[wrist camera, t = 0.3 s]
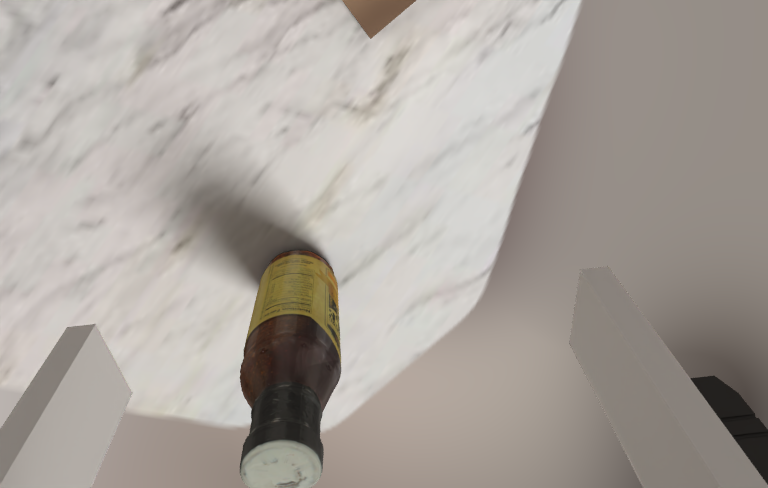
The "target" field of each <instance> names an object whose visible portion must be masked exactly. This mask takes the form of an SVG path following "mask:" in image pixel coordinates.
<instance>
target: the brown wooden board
mask: <svg viewBox="0 0 768 488" xmlns="http://www.w3.org/2000/svg"><path fill="white" fill-rule="evenodd" d="M342 1H343V2H344V3H345V5H346V6H347V7H348V9H349V10H350V12H351V13H352V14H353V16H354V17H355V18H356V20H357V21H358V22H359V24H360V25H361V26H362V28H363V29H364V31H365V32H366V33H367V35H368V36H369V37H370V39H371V38H372V37H373V36H375V35H376V34H377V33H378V32H379V31H381V30H382V29H383V28H384V27H385V26H386V25H388V24H389V23H390V22H391V21H392V20H394V19H395V18H396V17H397V16H398V15H399V14H401V13H402V12H403V11H404V10H405V9H407V8H408V7H409V6H410V5H411V4H412V3H414V2H415V1H416V0H342Z"/></svg>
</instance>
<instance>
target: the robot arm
mask: <svg viewBox="0 0 768 488" xmlns="http://www.w3.org/2000/svg"><path fill="white" fill-rule="evenodd" d="M569 344H570V346H571V348H572V350H573V352H574V353H575V356H576V358H577V360H578V361H579V364H580V365H581V367H582V369H583V371H584V373H585V375H586V377H587V379H588V381H589V383H590V385H591V387H592V389H593V391H594V393H595V395H596V397H597V399H598V401H599V403H600V404H601V406H602V408H603V410H604V412H605V414H606V416H607V418H608V420H609V422H610V424H611V426H612V428H613V430H614V432H615V434H616V436H617V438H618V439H619V442H620V444H621V445H622V447H623V449H624V451H625V453H626V455H627V457H628V459H629V461H630V463H631V465H632V467H633V469H634V471H635V473H636V475H637V477H638V479H639V481H640V483H641V485H642V486H643V488H768V429H767V428H766V427H765V426H764V424H763V423H762V422H761V421H760V419H759V418H756V417H755V413H754V412H753V411H752V410H751V408H750V407H749V406H748V405H747V403H746V402H745V401H744V400H743V399H742V397H741V396H740V395H739V393H737V392H736V391H735V390H733V389H732V388H731V387H729V386H728V385H726V384H725V383H724V382H722V381H721V380H719V379H718V378H717V377H715V376H708V377H700V378H689V376H688V375H687V374H686V372H685V371H684V369H683V368H682V367H681V366H680V364H679V363H678V361H677V360H676V359H675V357H674V356H673V355H672V353H671V352H670V350H669V349H668V348H667V346H666V345H665V343H664V342H663V341H662V339H661V338H660V337H659V335H658V334H657V333H656V331H655V330H654V328H653V327H652V326H651V324H650V323H649V322H648V320H647V319H646V317H645V316H644V315H643V313H642V312H641V311H640V309H639V308H638V306H637V305H636V304H635V303H634V301H633V300H632V298H631V297H630V296H629V294H628V293H627V291H626V290H625V289H624V287H623V286H622V285H621V283H620V282H619V280H618V279H617V278H616V276H615V275H614V274H613V272H612V271H611V269H610V268H609V267H608V266H607V267H598V268H589V269H581V270H580V273H579V280H578V287H577V294H576V301H575V307H574V314H573V321H572V328H571V335H570V343H569ZM131 395H132V391H131V389H130V387H129V386H128V384H127V382H126V380H125V378H124V376H123V374H122V372H121V371H120V369H119V367H118V365H117V363H116V361H115V359H114V358H113V356H112V354H111V352H110V350H109V348H108V346H107V345H106V343H105V341H104V339H103V337H102V335H101V333H100V331H99V330H98V328H97V326H96V324H93V325H84V326H75V327H67V328H66V330H65V332H64V333H63V335H62V336H61V338H60V339H59V341H58V342H57V344H56V345H55V347H54V348H53V350H52V351H51V353H50V354H49V356H48V357H47V359H46V360H45V362H44V363H43V365H42V366H41V368H40V370H39V371H38V373H37V374H36V376H35V377H34V379H33V380H32V382H31V383H30V385H29V386H28V388H27V389H26V391H25V392H24V394H23V395H22V397H21V399H20V400H19V401H18V403H17V405H16V406H15V408H14V409H13V411H12V412H11V414H10V415H9V417H8V418H7V420H6V421H5V423H4V424H3V426H2V428H1V429H0V488H91V487H92V485H93V482H94V480H95V478H96V476H97V473H98V471H99V469H100V466H101V464H102V462H103V459H104V457H105V455H106V453H107V450H108V448H109V446H110V443H111V441H112V439H113V437H114V434H115V432H116V430H117V427H118V425H119V423H120V420H121V418H122V415H123V414H124V411H125V409H126V407H127V404H128V402H129V400H130V397H131Z"/></svg>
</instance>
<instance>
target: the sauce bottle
mask: <svg viewBox="0 0 768 488" xmlns="http://www.w3.org/2000/svg"><path fill="white" fill-rule="evenodd" d="M240 373H241V375H240V380H241V381H240V382H241V387H242V392H243V395H244V397H245V399H246V400H247V402H248V404H249V405H250V407H251V408H252V411H251V418H252V422H251V428H250V434H249V436H248V437H247V439H246V440H245V443H244V445H243V451H242V457H241V463H240V475H241V478H242V480H243V482H244V483H245V484H246V485H247V486H248V487H249V488H311V487H312V486H314V485H315V484H316V482H317V481H318V480H319V478H320V476H321V473H322V468H323V445H322V443H321V440H320V421H321V418H322V412H323V410H324V408H325V406H326V404H327V402H328V400H329V398H330V396H331V394H332V392H333V390H334V389H335V387H336V385H337V384H338V382H339V378H340V374H341V351H340V327H339V306H338V285H337V281H336V278H335V276H334V272H333V269H332V267H331V266H330V265H329V264H328V263H327V262H326V261H325V260H324V259H322V258H321V257H319V256H318V255H316V254H315V253H313V252H310V251H302V250H296V251H288V252H285V253H281V254H279V255H278V256H277V257H276V258H275V259H273V260H272V261H271V263H270V264H269V265H268V267H267V268H266V270H265V272H264V274H263V276H262V278H261V281H260V285H259V289H258V293H257V297H256V301H255V305H254V310H253V314H252V318H251V322H250V326H249V330H248V334H247V339H246V343H245V348H244V359H243V362H242V365H241V370H240Z"/></svg>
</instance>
